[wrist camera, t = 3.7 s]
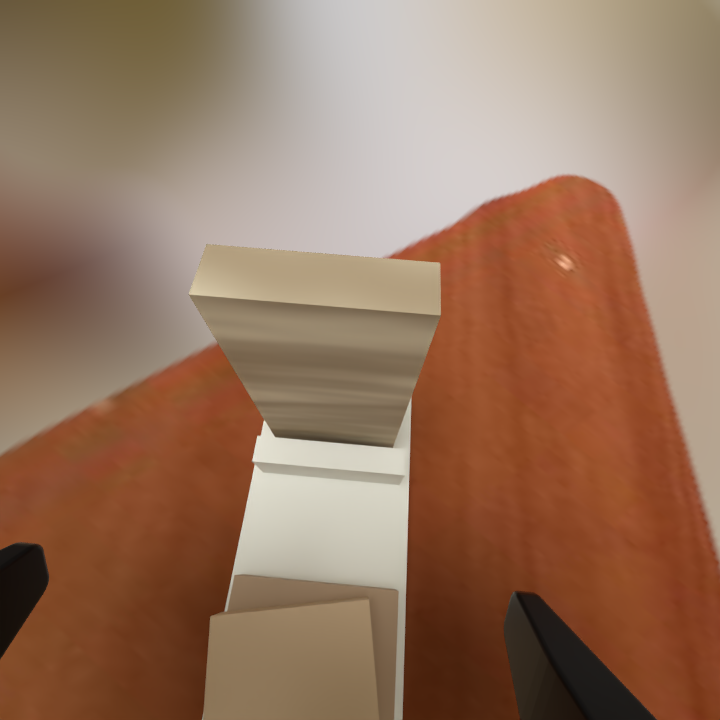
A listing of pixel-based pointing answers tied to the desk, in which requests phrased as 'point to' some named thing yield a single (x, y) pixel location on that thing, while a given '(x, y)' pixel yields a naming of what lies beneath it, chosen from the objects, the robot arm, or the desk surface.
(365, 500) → the offcut rack
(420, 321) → the grey brown wooden board
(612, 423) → the desk surface
